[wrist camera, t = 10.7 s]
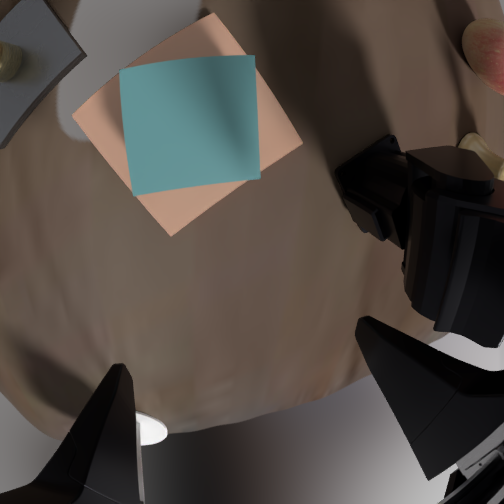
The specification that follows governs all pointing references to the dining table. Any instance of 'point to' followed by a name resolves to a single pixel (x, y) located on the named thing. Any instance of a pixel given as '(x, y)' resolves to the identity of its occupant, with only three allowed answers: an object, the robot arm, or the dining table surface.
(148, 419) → the white stand
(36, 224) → the dining table surface
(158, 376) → the dining table surface
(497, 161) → the hand bell
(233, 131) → the teal cube
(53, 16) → the post base
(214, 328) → the dining table surface
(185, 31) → the tile
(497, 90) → the apple
